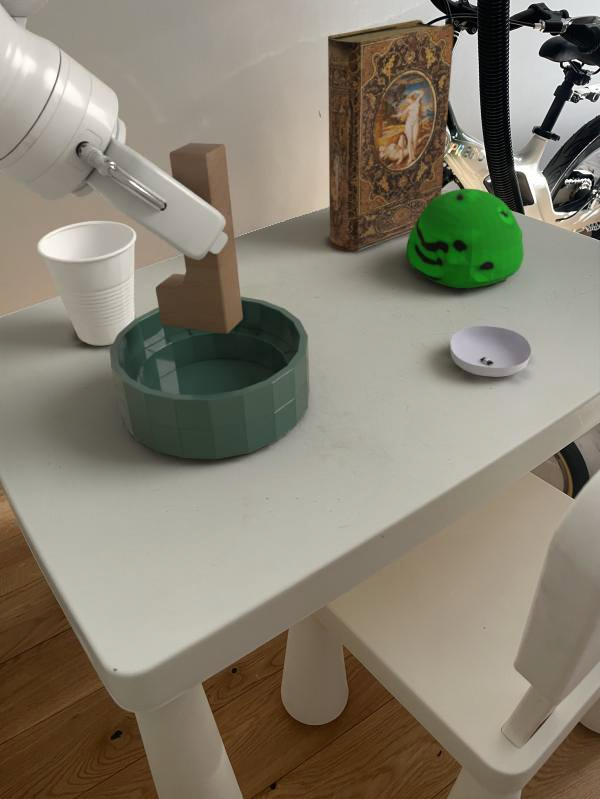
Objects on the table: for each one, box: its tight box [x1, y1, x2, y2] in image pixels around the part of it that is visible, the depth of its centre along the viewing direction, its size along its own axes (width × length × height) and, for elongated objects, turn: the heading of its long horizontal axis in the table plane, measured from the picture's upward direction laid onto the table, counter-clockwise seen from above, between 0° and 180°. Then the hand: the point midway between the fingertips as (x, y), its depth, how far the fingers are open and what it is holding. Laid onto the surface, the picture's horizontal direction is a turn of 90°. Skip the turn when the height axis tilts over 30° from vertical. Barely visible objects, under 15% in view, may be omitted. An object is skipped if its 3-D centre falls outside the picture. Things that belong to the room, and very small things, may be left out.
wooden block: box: [155, 142, 243, 334], centre depth 61 cm, size 7×3×15 cm, turn 69°
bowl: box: [109, 296, 310, 460], centre depth 67 cm, size 17×17×7 cm
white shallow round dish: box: [449, 325, 532, 378], centre depth 73 cm, size 8×8×2 cm
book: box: [327, 19, 455, 253], centre depth 94 cm, size 16×6×25 cm, turn 128°
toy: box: [405, 188, 524, 289], centre depth 88 cm, size 14×13×10 cm
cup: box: [36, 220, 137, 347], centre depth 78 cm, size 10×10×11 cm
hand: (203, 231), depth 60 cm, fingers closed on wooden block, 4 cm apart
